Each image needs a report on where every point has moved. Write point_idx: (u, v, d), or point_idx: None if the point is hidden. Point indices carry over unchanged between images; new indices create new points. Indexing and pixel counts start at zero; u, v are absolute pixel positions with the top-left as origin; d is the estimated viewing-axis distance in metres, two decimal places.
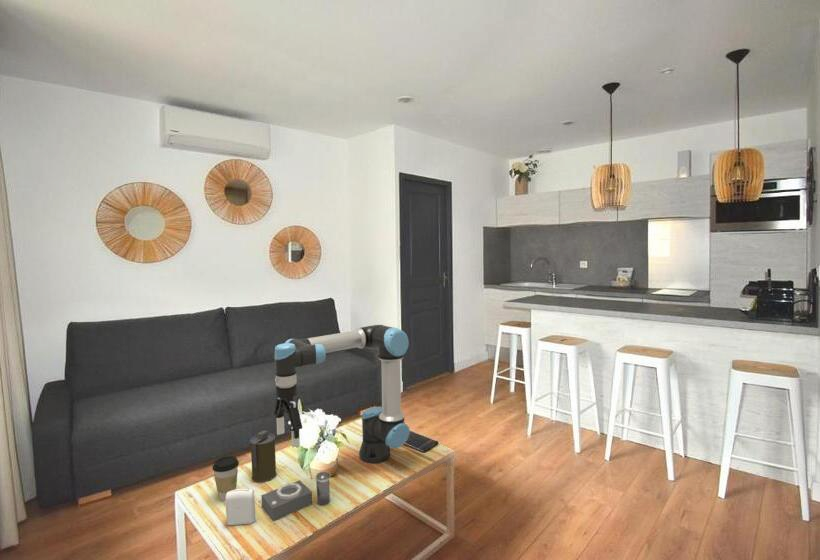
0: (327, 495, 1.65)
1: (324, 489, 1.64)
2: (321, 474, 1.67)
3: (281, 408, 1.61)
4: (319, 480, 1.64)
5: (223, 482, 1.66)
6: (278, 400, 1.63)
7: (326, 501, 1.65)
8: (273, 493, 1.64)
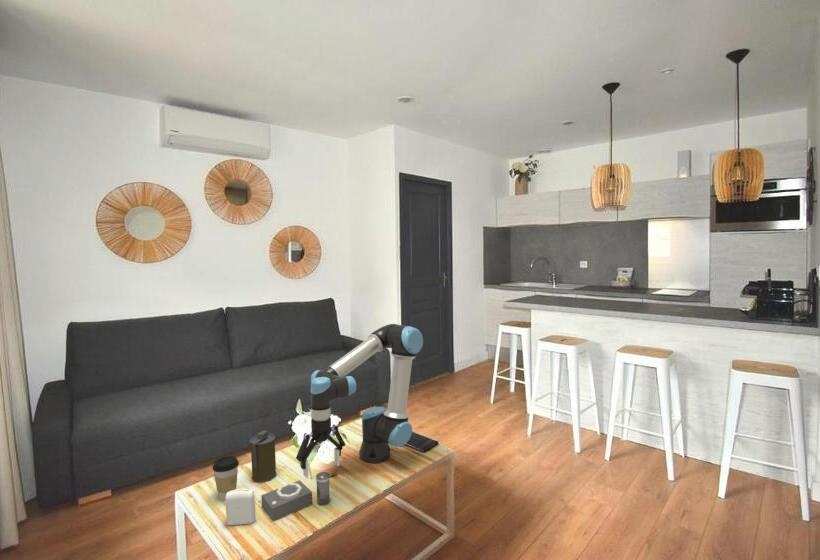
0: (327, 495, 1.65)
1: (324, 489, 1.64)
2: (321, 474, 1.67)
3: (328, 439, 1.68)
4: (319, 480, 1.64)
5: (223, 482, 1.66)
6: None
7: (326, 501, 1.65)
8: (273, 493, 1.64)
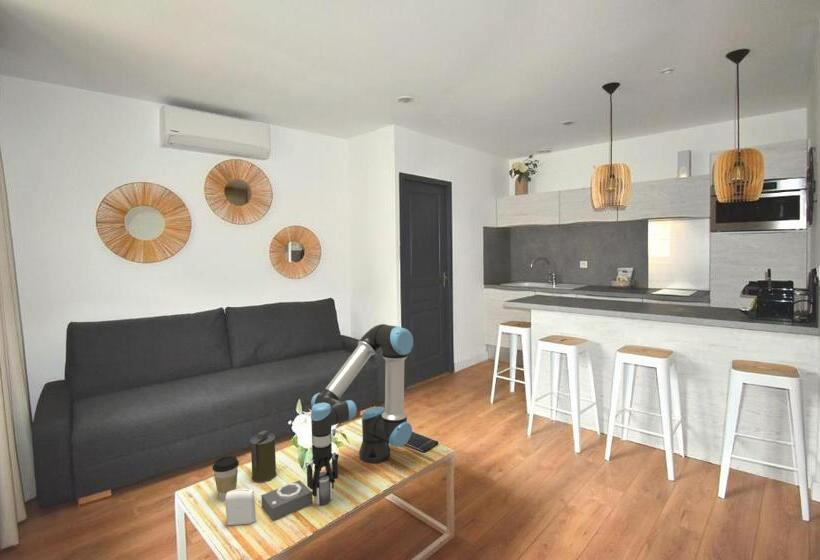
0: (327, 495, 1.65)
1: (324, 489, 1.64)
2: (321, 474, 1.67)
3: (325, 466, 1.67)
4: (319, 480, 1.64)
5: (223, 482, 1.66)
6: (332, 459, 1.69)
7: (326, 501, 1.65)
8: (273, 493, 1.64)
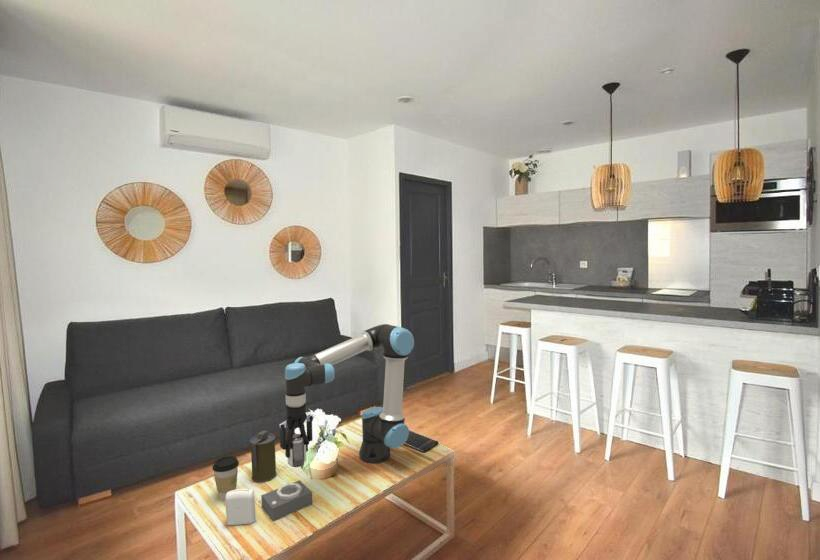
0: (301, 457, 1.62)
1: (298, 450, 1.61)
2: (295, 436, 1.64)
3: (299, 428, 1.65)
4: (293, 441, 1.61)
5: (223, 482, 1.66)
6: (307, 421, 1.67)
7: (300, 463, 1.62)
8: (273, 493, 1.64)
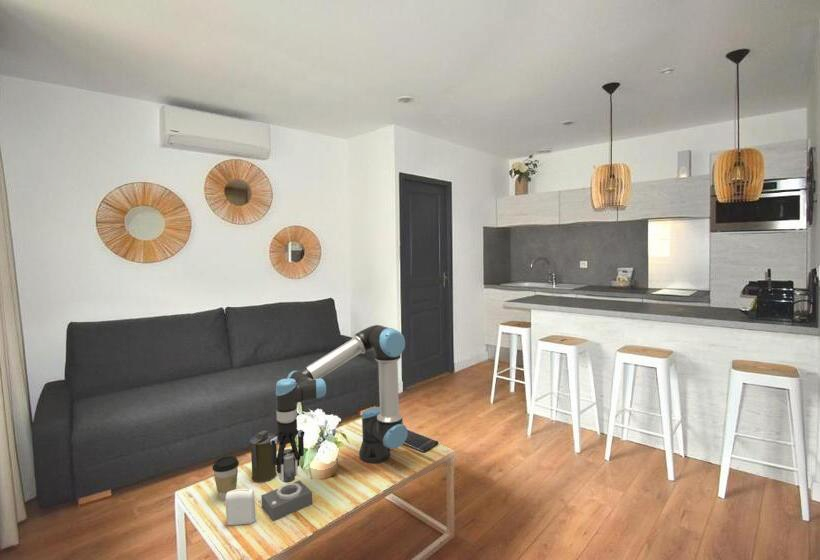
0: (292, 472, 1.62)
1: (289, 466, 1.61)
2: (286, 451, 1.64)
3: (290, 443, 1.65)
4: (284, 456, 1.61)
5: (223, 482, 1.66)
6: (298, 436, 1.67)
7: (291, 478, 1.62)
8: (273, 493, 1.64)
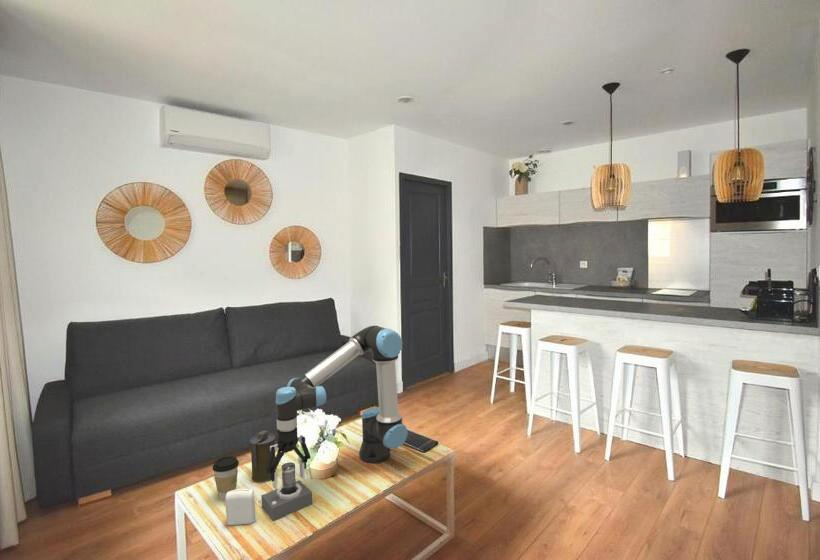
0: (293, 486, 1.63)
1: (290, 480, 1.62)
2: (287, 464, 1.64)
3: (294, 450, 1.66)
4: (284, 470, 1.62)
5: (223, 482, 1.66)
6: (300, 442, 1.68)
7: (291, 492, 1.63)
8: (273, 493, 1.64)
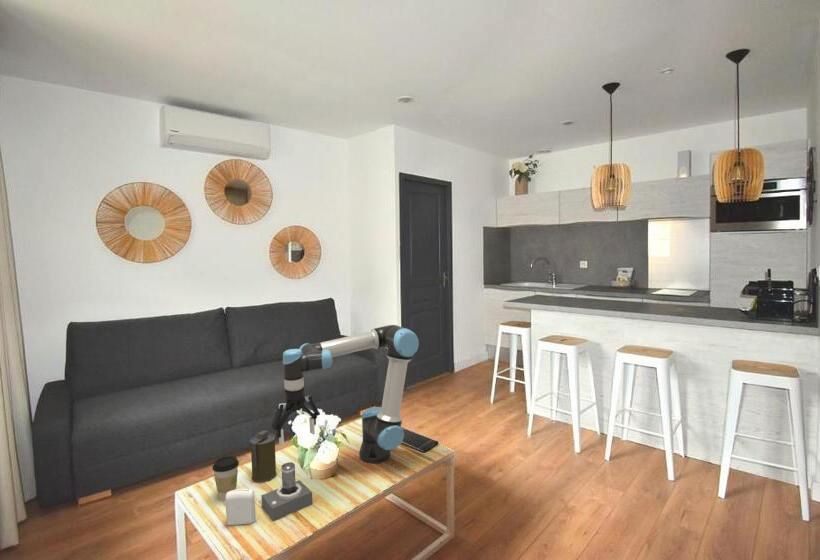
0: (292, 486, 1.63)
1: (289, 480, 1.62)
2: (286, 464, 1.64)
3: (302, 408, 1.73)
4: (284, 470, 1.61)
5: (223, 482, 1.66)
6: None
7: (291, 492, 1.63)
8: (273, 493, 1.64)
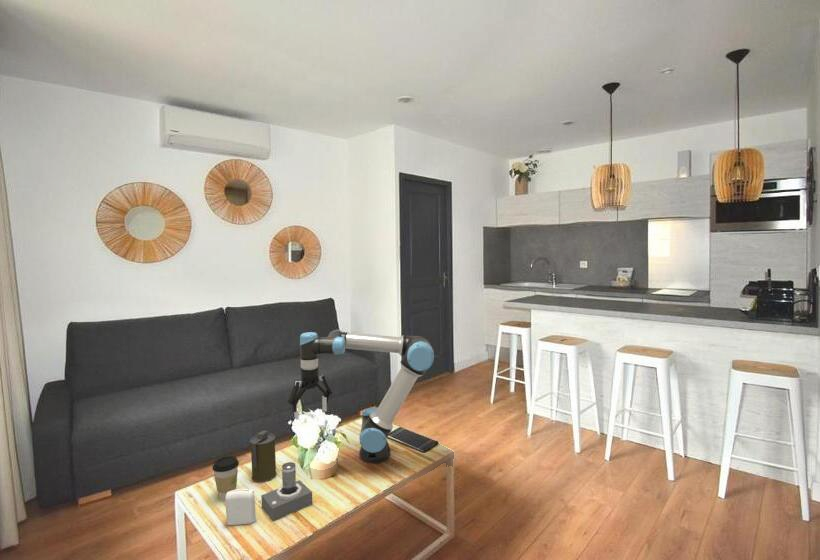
0: (293, 485, 1.63)
1: (290, 479, 1.62)
2: (287, 464, 1.65)
3: (316, 387, 1.89)
4: (285, 470, 1.62)
5: (223, 482, 1.66)
6: (321, 380, 1.90)
7: (292, 491, 1.63)
8: (273, 493, 1.64)
